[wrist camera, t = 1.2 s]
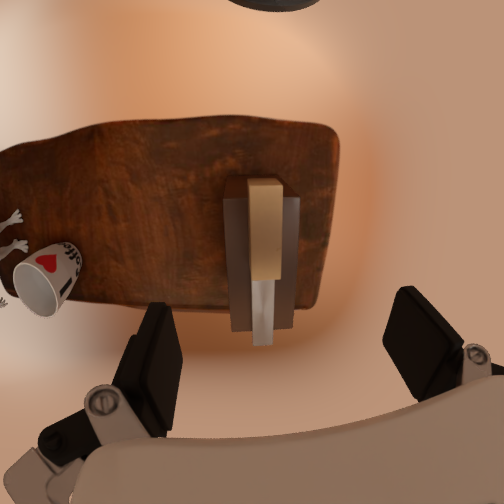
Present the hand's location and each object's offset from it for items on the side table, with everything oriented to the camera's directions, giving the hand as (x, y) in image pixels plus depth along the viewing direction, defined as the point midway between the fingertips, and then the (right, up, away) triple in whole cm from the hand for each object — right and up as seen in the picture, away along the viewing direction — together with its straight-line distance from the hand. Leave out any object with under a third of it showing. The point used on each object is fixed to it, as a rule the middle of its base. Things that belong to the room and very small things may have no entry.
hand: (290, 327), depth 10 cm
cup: (-29, +2, +24) cm, 38 cm away
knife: (-1, +1, +13) cm, 13 cm away
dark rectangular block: (-1, +6, +24) cm, 25 cm away
